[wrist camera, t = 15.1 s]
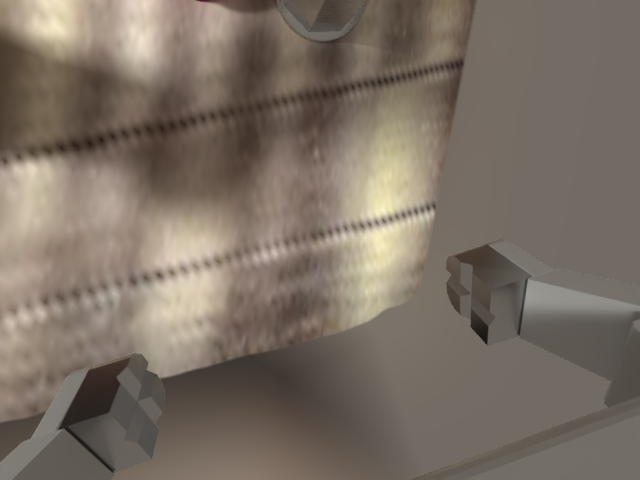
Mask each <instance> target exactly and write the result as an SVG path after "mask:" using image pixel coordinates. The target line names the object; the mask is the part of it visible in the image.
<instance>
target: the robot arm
mask: <svg viewBox="0 0 640 480" xmlns="http://www.w3.org/2000/svg"><path fill="white" fill-rule="evenodd" d="M446 270H448V272H449V273H451V276H450V278H449V280H448V281H447V293H448V296H449V299H450V302H451V304H452V305H453V307H454V309H455V310H456V311H457V312H458V313H459V315H461V316H464V317H466V318H469V319H471V328H472V329H473V330H474V331H475V333H476V334H477V335H478V336H479V337H480V338H481V339H482V340H483V341H484V342H485V344H486V345H491V344H494V343H497V342H501V341H504V340H507V339H511V338H514V337H517V336H520V338H521V339H523V340H526V341H528V342H530V343H532V344H534V345H536V346H538V347H540V348H542V349H544V350H547V351H549V352H551V353H553V354H555V355H557V356H559V357H561V358H563V359H565V360H567V361H570V362H572V363H574V364H576V365H578V366H580V367H582V368H584V369H587V370H589V371H590V372H593V373H595V374H597V375H599V376H601V377H603V378H606V379H607V380H609V381H610V383H609V386H608V388H607V391H606V394H605V397H604V404H605V405H606V406H607V408H605V409H602V410H599V411H596V412H594V413H591V414H588V415H586V416H583V417H580V418H577V419H575V420H572V421H569V422H566V423H564V424H561V425H558V426H555V427H553V428H550V429H547V430H545V431H542V432H539V433H537V434H534V435H531V436H528V437H526V438H523V439H520V440H517V441H514V442H512V443H509V444H507V445H504V446H501V447H498V448H496V449H493V450H490V451H487V452H484V453H482V454H479V455H476V456H473V457H471V458H468V459H465V460H463V461H460V462H457V463H455V464H452V465H449V466H446V467H443V468H441V469H438V470H435V471H433V472H430V473H427V474H424V475H422V476H419V477H416V478H413V479H411V480H640V286H639V285H635V284H630V283H626V282H621V281H616V280H612V279H607V278H602V277H598V276H593V275H588V274H584V273H578V272H575V271H570V270H565V269H560V268H559V269H556V270H553V269H551V268H550V267H548V266H546V265H545V264H543V263H541V262H540V261H539V260H537V259H536V258H534V257H532V256H531V255H529V254H528V253H526V252H525V251H523V250H521V249H520V248H518V247H517V246H515V245H514V244H512V243H511V242H509V241H507V240H503V239H500V240H496V241H493V242H491V243H487V244H485V245H483V246H480V247H477V248H474V249H471V250H467V251H464V252H461V253H458V254H454V255H451V256H449V257H448V258H447V261H446ZM147 366H148V362H147V360H146V359H145V358H144V357H143V355H142V354H136V353H135V354H131V355H128V356H124V357H121V358H118V359H114V360H111V361H107V362H104V363H100V364H97V365H94V366H91V367H87V368H84V369H80V370H77V371H74V372H73V373H71V374H70V375H68V376H67V377H66V379H65V381H64V382H63V384H62V386H61V388H60V389H59V391H58V393H57V394H56V396H55V398H54V400H53V401H52V403H51V405H50V407H49V408H48V410H47V412H46V414H45V415H44V417H43V419H42V420H41V422H40V424H39V425H38V427H37V429H36V431H35V432H34V434H33V436H32V438H31V439H29V440H27V441H24V442H22V443H21V444H20V445H19V446H18V447H17V448H16V449H14V450H13V451H12V452H11V453H10V454H9V455H8V456H7V457H6V458H5V459H4V460H3V461H1V462H0V480H111V479H112V478H113V476H114V474H113V473H115V472H118V471H120V470H123V469H126V468H129V467H131V466H134V465H136V464H139V463H142V462H145V461H148V460H150V459H152V456H153V452H154V447H155V444H156V439H157V435H158V431H159V430H158V428H157V427H156V425H155V424H154V423H155V422H156V421H157V419H158V418H159V417H160V415H161V414H162V413H163V409H164V404H165V392H164V391H165V390H164V387H163V384H162V381H161V380H160V378H159V377H158V375H157V374H155V373H152V372H149V371H147Z"/></svg>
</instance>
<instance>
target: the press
mask: <svg viewBox="0 0 640 480" xmlns="http://www.w3.org/2000/svg"><path fill="white" fill-rule="evenodd" d="M275 1H276V4H277V7H278V9H279V12H280V14H281V16H282V17H283V19H284V20H285V22H286V23H287V24H288V26H289V27H290V28H291V29H292V30H293V31H294V32H295V33H297V34H298V35H300V36H301V37H303V38H305V39H307V40H310V41H314V42H330V41H334V40H337V39H339V38H341V37H342V36H344V35H345V34H347V33H348V32H349V31H350V30H351V29H352V28H353V27H354V26H355V25H356V23H357V22H358V21H359V19H360V18H361V16H362V14H363V12H364V9H365V6H366V3H367V0H275Z"/></svg>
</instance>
